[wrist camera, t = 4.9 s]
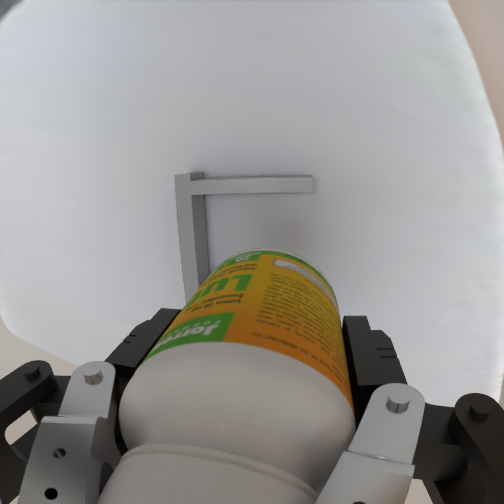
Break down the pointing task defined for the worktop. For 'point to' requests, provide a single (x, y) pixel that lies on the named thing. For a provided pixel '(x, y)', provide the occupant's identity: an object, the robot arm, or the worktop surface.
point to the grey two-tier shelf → (194, 221)
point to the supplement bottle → (240, 392)
